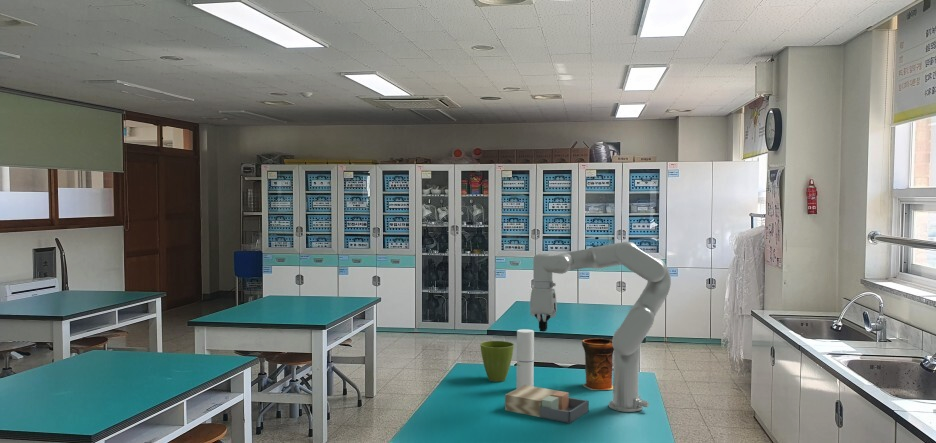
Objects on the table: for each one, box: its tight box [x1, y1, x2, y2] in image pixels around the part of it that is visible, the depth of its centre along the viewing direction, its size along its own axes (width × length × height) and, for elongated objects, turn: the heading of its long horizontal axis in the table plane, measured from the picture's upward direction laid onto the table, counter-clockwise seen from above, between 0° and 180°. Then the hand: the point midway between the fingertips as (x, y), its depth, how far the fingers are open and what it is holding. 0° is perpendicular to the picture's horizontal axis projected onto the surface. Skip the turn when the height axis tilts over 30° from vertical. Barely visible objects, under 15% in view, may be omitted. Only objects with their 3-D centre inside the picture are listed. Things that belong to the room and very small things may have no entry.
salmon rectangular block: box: [552, 390, 570, 411], centre depth 254 cm, size 6×6×4 cm
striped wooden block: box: [504, 385, 559, 418], centre depth 257 cm, size 15×16×6 cm
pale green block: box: [542, 396, 559, 410], centre depth 248 cm, size 6×6×4 cm
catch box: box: [539, 397, 590, 424], centre depth 249 cm, size 12×17×4 cm
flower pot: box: [479, 340, 515, 383], centre depth 298 cm, size 15×15×16 cm
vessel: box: [581, 337, 614, 391], centre depth 287 cm, size 14×14×20 cm
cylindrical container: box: [516, 328, 535, 389], centre depth 282 cm, size 7×7×25 cm
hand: (543, 330), depth 267 cm, fingers closed
